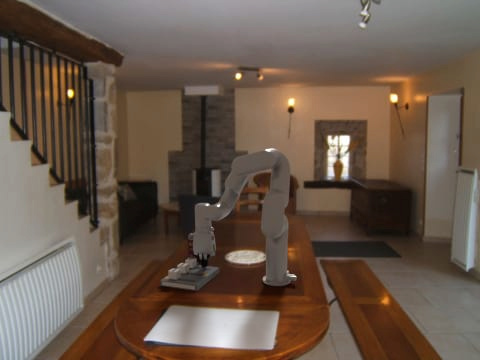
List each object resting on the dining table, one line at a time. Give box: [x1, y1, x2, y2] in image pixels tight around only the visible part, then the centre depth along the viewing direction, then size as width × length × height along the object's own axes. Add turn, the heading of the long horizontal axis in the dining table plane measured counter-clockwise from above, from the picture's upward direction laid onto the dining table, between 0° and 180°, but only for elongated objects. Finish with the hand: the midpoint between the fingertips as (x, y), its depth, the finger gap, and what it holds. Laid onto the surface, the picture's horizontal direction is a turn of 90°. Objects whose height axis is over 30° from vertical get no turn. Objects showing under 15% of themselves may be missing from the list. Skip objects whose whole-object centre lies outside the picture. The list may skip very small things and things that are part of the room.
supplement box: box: [187, 232, 205, 265], centre depth 209 cm, size 9×5×16 cm, turn 78°
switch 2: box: [176, 262, 189, 274], centre depth 191 cm, size 4×4×4 cm
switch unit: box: [159, 265, 220, 292], centre depth 190 cm, size 18×24×3 cm
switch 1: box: [167, 267, 181, 280], centre depth 184 cm, size 4×4×4 cm
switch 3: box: [184, 258, 197, 268], centre depth 199 cm, size 4×4×4 cm
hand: (204, 266), depth 196 cm, fingers closed
